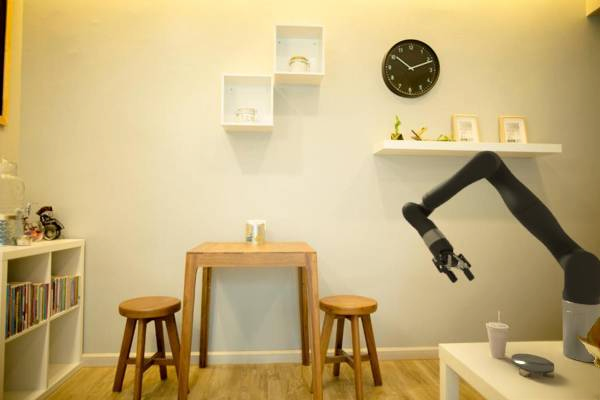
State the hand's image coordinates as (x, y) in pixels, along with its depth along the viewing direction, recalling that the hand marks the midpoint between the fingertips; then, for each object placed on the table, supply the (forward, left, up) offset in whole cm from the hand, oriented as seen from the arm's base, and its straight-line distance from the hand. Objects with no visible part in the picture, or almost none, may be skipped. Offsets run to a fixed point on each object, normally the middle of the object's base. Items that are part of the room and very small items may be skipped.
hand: (464, 280), depth 121 cm
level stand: (+13, +19, -21) cm, 31 cm away
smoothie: (+6, +10, -22) cm, 25 cm away
